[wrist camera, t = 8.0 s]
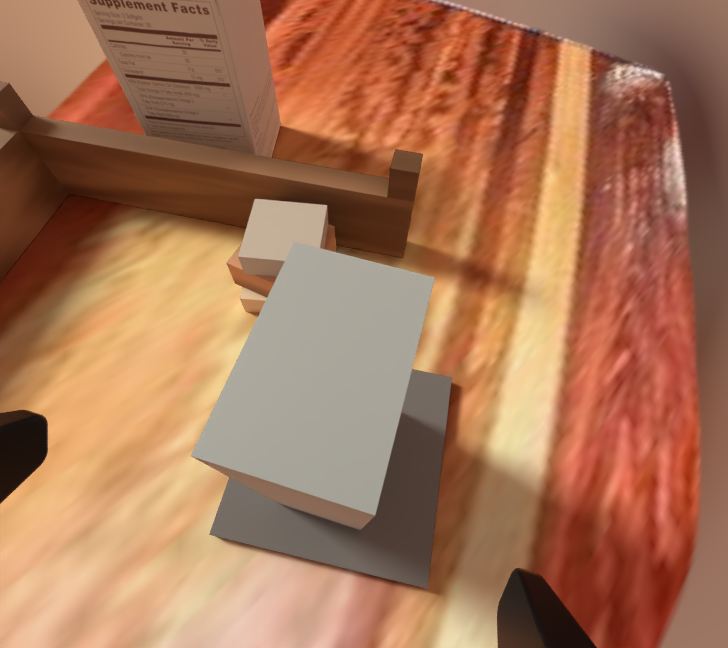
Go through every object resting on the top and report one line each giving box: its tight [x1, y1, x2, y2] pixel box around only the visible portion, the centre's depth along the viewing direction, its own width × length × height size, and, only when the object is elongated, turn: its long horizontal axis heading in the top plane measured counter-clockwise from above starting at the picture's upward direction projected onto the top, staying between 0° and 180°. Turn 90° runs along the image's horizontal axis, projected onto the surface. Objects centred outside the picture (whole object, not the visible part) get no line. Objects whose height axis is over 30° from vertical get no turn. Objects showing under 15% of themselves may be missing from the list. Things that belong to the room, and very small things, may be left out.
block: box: [191, 242, 435, 530], centre depth 15 cm, size 6×4×12 cm, turn 164°
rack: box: [0, 82, 423, 282], centre depth 21 cm, size 18×26×7 cm
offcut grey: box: [238, 199, 328, 277], centre depth 22 cm, size 4×4×2 cm
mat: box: [209, 369, 452, 589], centre depth 21 cm, size 10×10×1 cm
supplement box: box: [78, 0, 281, 158], centre depth 26 cm, size 7×7×13 cm
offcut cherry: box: [227, 224, 335, 298], centre depth 24 cm, size 5×4×2 cm
